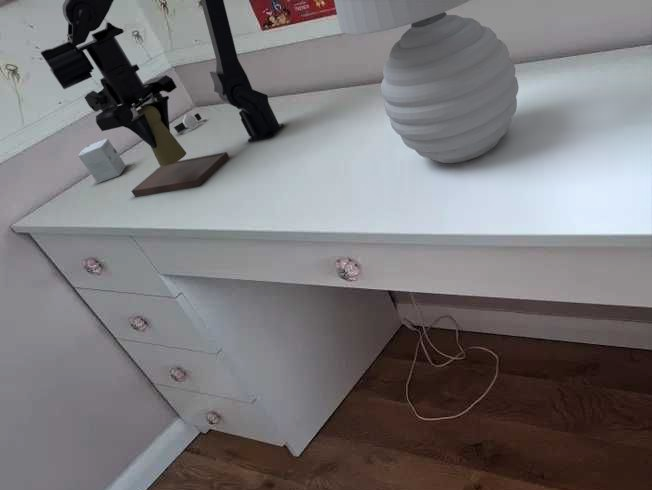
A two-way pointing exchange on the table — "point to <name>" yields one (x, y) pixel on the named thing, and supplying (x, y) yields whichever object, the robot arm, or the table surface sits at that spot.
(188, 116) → the watch
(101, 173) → the white cardboard box
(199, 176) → the walnut board
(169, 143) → the olive yellow pawn
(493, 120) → the table lamp
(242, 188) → the table surface
